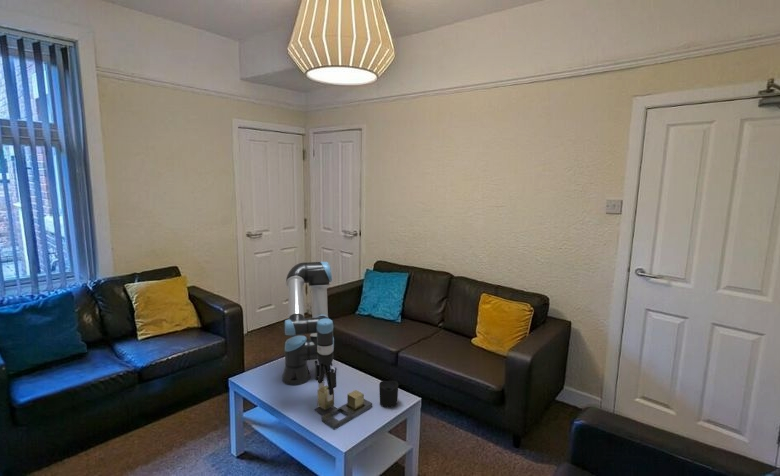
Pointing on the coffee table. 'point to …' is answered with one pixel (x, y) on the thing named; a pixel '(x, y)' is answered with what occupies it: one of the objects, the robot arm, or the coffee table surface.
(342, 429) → the coffee table surface
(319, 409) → the rubber pad
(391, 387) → the pen holder
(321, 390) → the tan textured cube
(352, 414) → the rail
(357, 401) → the block
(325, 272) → the robot arm
